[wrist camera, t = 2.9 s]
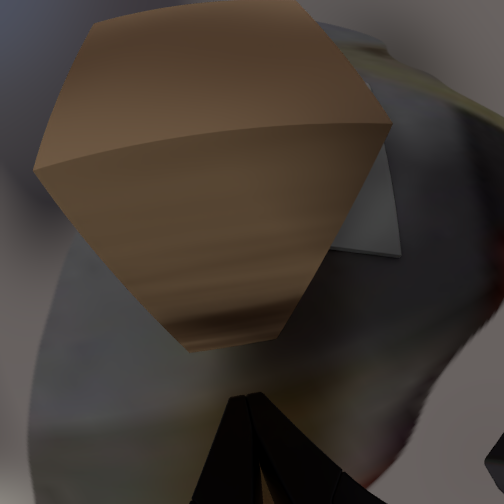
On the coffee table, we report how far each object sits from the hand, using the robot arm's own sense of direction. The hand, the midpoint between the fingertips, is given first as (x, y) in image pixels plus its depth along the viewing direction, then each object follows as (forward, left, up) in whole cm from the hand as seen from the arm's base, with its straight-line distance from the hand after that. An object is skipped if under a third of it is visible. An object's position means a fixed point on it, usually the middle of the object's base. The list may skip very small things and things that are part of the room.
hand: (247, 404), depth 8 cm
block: (+5, +1, -8) cm, 9 cm away
